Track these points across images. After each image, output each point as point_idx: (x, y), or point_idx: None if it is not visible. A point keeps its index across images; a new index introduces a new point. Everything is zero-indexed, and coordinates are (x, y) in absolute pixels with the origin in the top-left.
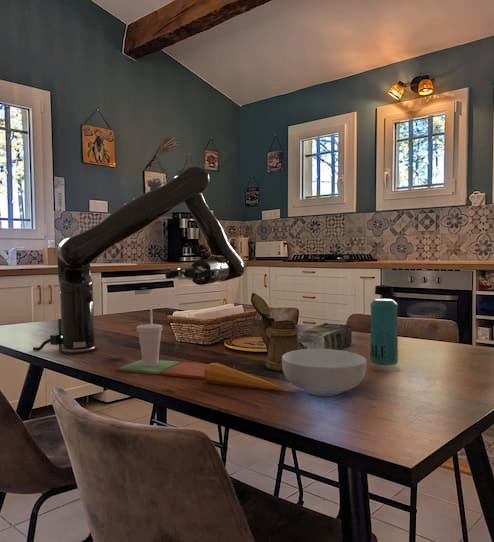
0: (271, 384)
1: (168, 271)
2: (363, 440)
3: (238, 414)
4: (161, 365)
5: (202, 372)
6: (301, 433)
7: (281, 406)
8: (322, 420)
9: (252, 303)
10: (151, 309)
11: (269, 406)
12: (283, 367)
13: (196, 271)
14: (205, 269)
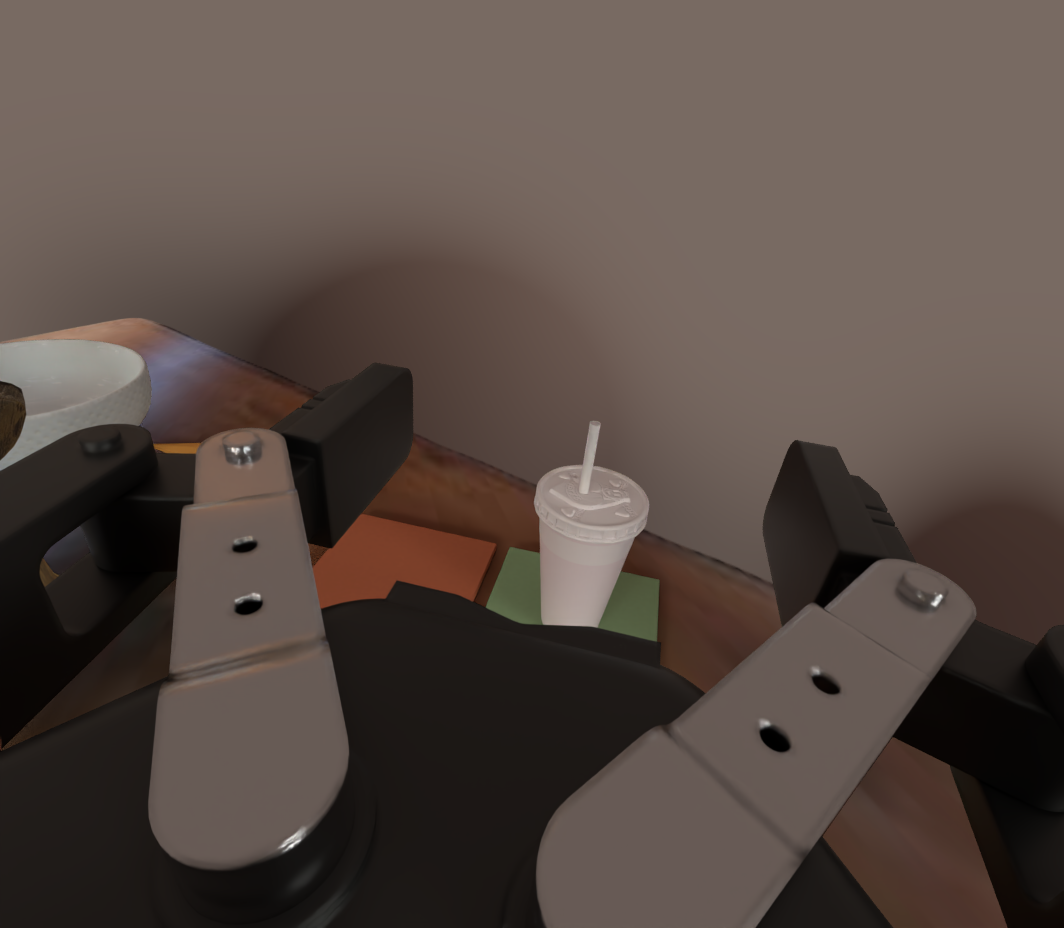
0: (182, 443)
1: (794, 448)
2: (144, 341)
3: (296, 387)
4: (522, 609)
5: (358, 541)
6: (219, 353)
7: (205, 404)
8: (162, 372)
9: (24, 400)
10: (591, 424)
11: (229, 404)
12: (148, 389)
13: (362, 380)
14: (46, 749)
